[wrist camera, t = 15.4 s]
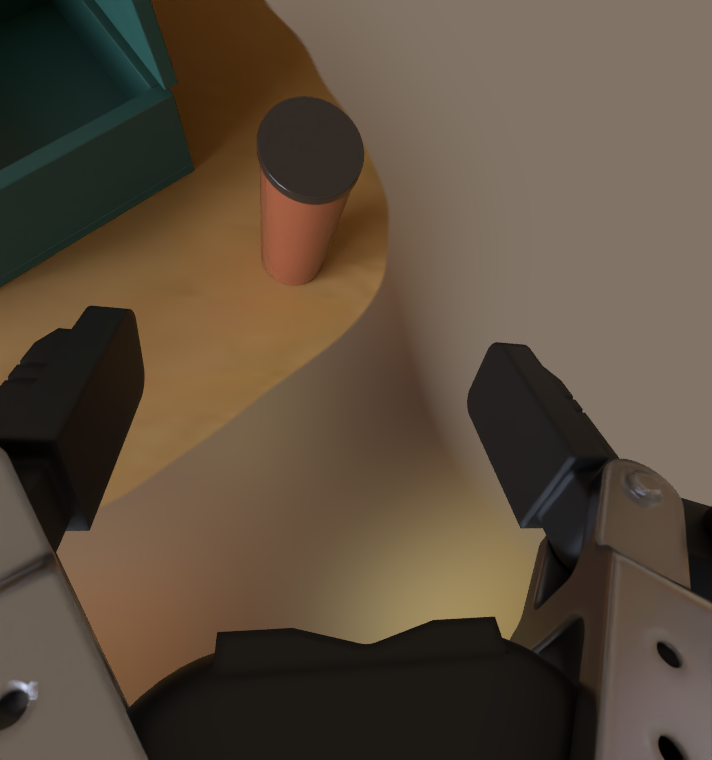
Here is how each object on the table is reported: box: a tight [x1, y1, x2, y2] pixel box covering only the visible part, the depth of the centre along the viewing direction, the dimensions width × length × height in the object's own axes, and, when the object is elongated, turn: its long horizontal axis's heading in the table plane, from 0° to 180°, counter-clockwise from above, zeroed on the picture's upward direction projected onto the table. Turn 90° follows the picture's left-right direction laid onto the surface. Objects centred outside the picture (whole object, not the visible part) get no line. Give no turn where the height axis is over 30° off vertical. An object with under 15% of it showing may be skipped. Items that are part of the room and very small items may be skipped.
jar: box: [257, 96, 364, 285], centre depth 23 cm, size 4×4×12 cm
